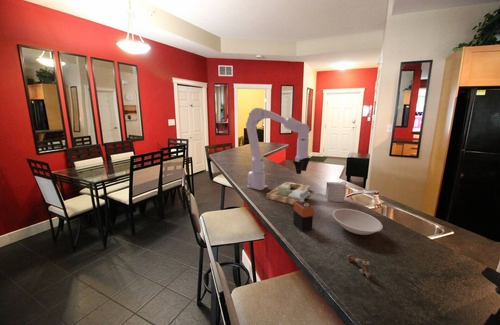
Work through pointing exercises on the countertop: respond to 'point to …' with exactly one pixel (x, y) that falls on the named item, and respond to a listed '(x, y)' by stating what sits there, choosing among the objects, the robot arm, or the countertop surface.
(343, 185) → the medicine box
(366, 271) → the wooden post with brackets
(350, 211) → the dish
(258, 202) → the countertop surface
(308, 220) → the battery
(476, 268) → the countertop surface
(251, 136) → the robot arm
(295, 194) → the lid
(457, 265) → the countertop surface
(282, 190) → the block
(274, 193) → the puzzle board
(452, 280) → the countertop surface
